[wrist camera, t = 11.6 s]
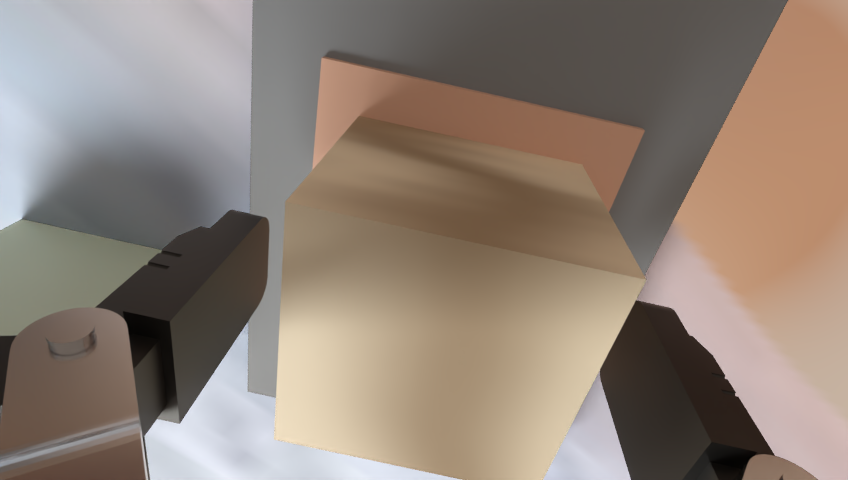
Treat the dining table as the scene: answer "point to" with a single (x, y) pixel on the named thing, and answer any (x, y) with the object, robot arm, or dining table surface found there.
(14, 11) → the dining table surface
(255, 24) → the slate board
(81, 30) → the dining table surface
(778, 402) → the dining table surface
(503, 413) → the maple base block
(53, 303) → the sage top cube
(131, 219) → the dining table surface
